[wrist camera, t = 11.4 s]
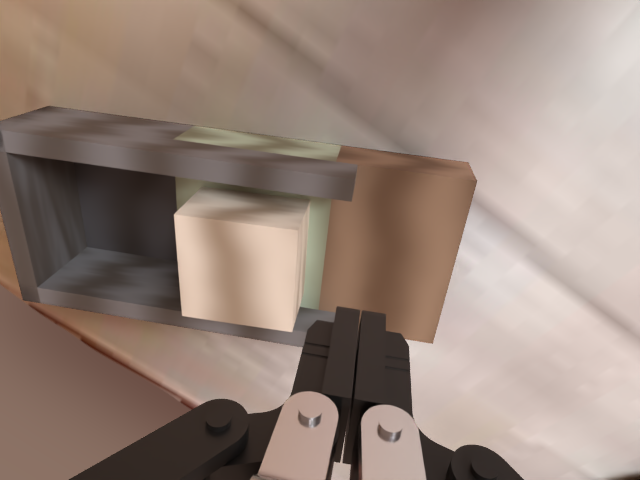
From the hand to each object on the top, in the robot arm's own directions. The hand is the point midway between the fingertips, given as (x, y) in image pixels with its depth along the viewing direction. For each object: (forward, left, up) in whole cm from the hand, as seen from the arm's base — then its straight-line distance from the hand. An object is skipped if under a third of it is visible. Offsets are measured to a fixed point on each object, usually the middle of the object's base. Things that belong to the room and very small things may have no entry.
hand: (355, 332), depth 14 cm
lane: (+10, +8, -23) cm, 26 cm away
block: (+8, +8, -19) cm, 22 cm away
